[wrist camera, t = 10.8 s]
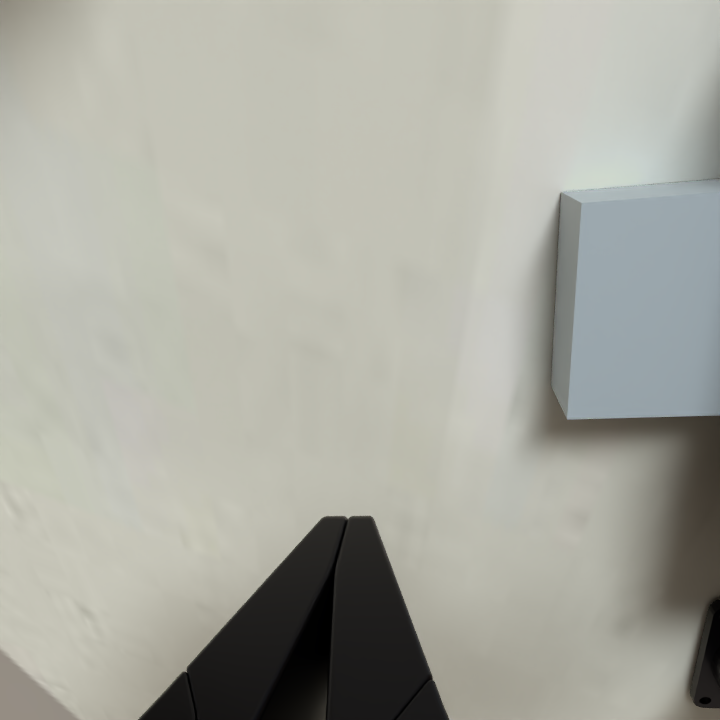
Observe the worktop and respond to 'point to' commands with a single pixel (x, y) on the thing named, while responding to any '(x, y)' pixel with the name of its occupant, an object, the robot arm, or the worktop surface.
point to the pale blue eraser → (638, 302)
